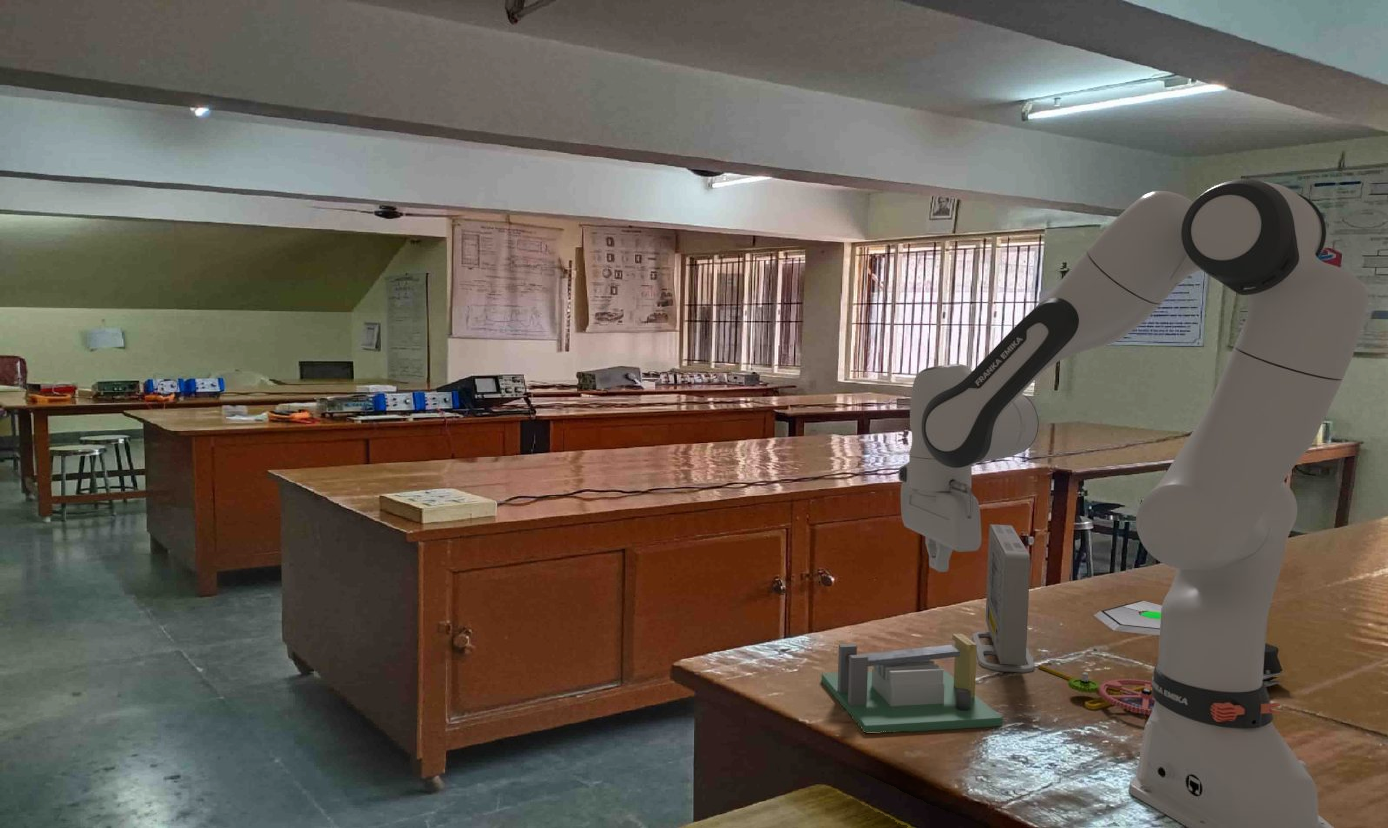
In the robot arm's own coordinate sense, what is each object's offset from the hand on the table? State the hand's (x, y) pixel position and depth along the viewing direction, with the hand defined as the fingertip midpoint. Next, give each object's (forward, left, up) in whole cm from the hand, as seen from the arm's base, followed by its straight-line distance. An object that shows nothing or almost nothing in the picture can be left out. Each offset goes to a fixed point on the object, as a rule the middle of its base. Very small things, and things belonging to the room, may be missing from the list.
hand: (938, 569), depth 141 cm
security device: (+32, -57, -21) cm, 68 cm away
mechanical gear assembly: (-3, -28, -21) cm, 35 cm away
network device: (+19, -21, -20) cm, 35 cm away
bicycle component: (+1, -50, -21) cm, 54 cm away
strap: (0, +5, -13) cm, 14 cm away
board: (0, +4, -20) cm, 20 cm away
